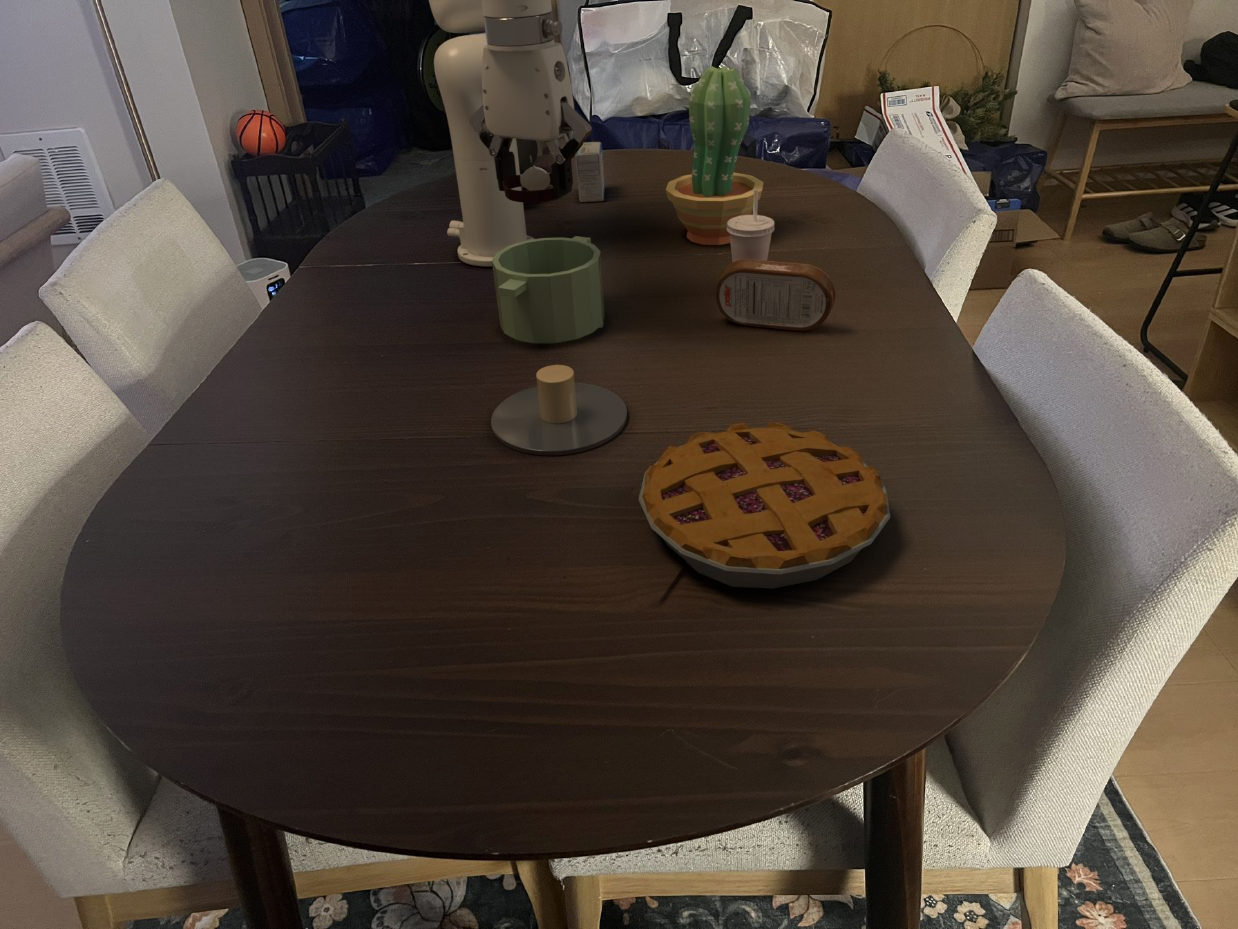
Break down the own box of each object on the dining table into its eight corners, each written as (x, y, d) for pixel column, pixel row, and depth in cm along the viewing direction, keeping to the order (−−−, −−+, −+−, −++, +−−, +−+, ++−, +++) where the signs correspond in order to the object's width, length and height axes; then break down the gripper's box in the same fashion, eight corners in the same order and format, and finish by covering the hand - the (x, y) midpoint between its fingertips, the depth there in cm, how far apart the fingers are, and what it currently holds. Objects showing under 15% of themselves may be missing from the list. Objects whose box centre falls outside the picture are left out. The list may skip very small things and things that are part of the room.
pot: (469, 345, 118) (458, 275, 113) (546, 291, 132) (539, 226, 127) (560, 363, 113) (554, 290, 107) (630, 304, 126) (627, 237, 121)
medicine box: (603, 202, 165) (600, 152, 160) (578, 203, 165) (575, 154, 161) (604, 188, 172) (602, 141, 167) (581, 190, 172) (577, 142, 167)
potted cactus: (783, 236, 146) (791, 67, 132) (707, 260, 139) (708, 84, 125) (720, 213, 157) (722, 54, 143) (647, 234, 150) (641, 69, 136)
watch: (568, 190, 114) (565, 161, 112) (566, 202, 110) (564, 172, 108) (506, 194, 114) (502, 164, 112) (502, 206, 110) (499, 175, 108)
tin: (833, 326, 118) (838, 263, 113) (829, 337, 115) (834, 273, 110) (718, 315, 122) (718, 254, 117) (712, 325, 120) (712, 263, 115)
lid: (465, 443, 98) (456, 391, 95) (537, 381, 109) (532, 334, 106) (586, 473, 92) (581, 420, 89) (650, 405, 103) (648, 355, 99)
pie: (604, 491, 89) (601, 448, 86) (798, 436, 96) (800, 394, 93) (711, 634, 72) (711, 585, 69) (937, 554, 79) (945, 507, 76)
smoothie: (770, 299, 125) (774, 197, 118) (723, 298, 127) (724, 197, 119) (773, 281, 131) (777, 182, 123) (728, 280, 132) (729, 182, 124)
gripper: (604, 28, 101) (612, 189, 111) (474, 24, 108) (493, 176, 118) (570, 39, 96) (582, 208, 106) (436, 35, 103) (458, 193, 113)
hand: (535, 190), depth 112 cm, fingers closed on watch, 7 cm apart
